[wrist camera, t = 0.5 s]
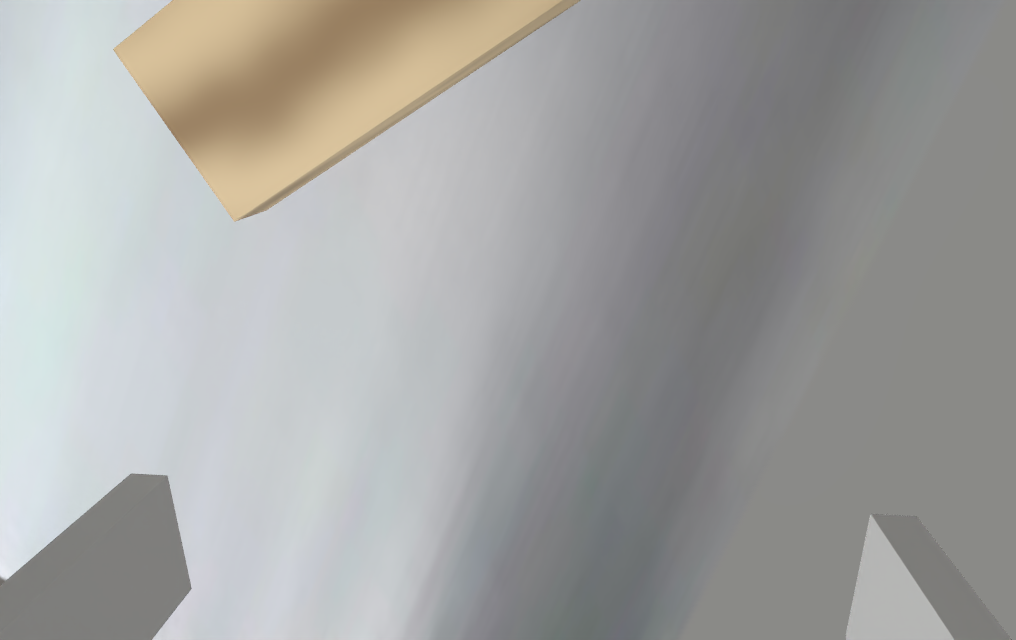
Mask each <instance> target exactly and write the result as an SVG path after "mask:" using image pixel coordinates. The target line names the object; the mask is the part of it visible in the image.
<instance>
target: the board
mask: <svg viewBox="0 0 1016 640" xmlns="http://www.w3.org/2000/svg"><path fill="white" fill-rule="evenodd" d="M579 1H580V0H173V1H171V2H170V3H169V4H168V5H166V6H165V7H164V8H163V9H162V10H160V11H159V12H158V13H157V14H155V15H154V16H153V17H152V18H151V19H149V20H148V21H147V22H146V23H145V24H143V25H142V26H141V27H140V28H138V29H137V30H136V31H135V32H134V33H132V34H131V35H130V36H129V37H127V38H126V39H125V40H124V41H123V42H121V43H120V44H119V45H118V46H116V47H115V48H114V49H113V50H114V51H115V53H116V54H117V56H118V57H119V59H120V60H121V61H122V63H123V64H124V66H125V67H126V69H127V70H128V71H129V73H130V74H131V76H132V77H133V78H134V80H135V81H136V83H137V84H138V86H139V87H140V88H141V90H142V91H143V93H144V94H145V95H146V97H147V98H148V100H149V101H150V103H151V104H152V105H153V107H154V108H155V110H156V111H157V113H158V114H159V115H160V117H161V118H162V120H163V121H164V122H165V124H166V125H167V127H168V128H169V130H170V131H171V132H172V134H173V135H174V137H175V138H176V139H177V141H178V142H179V144H180V145H181V147H182V148H183V149H184V151H185V152H186V154H187V155H188V156H189V158H190V159H191V161H192V162H193V164H194V165H195V166H196V168H197V169H198V171H199V172H200V174H201V175H202V176H203V178H204V179H205V181H206V182H207V183H208V185H209V186H210V188H211V189H212V191H213V192H214V193H215V195H216V196H217V198H218V199H219V200H220V202H221V203H222V205H223V206H224V208H225V209H226V210H227V212H228V213H229V215H230V216H231V218H232V219H233V220H234V222H235V221H238V220H240V219H243V218H246V217H249V216H252V215H254V214H257V213H260V212H263V211H266V210H268V209H269V208H271V207H272V206H274V205H275V204H277V203H278V202H280V201H281V200H283V199H284V198H286V197H287V196H289V195H290V194H292V193H293V192H295V191H296V190H298V189H299V188H301V187H302V186H304V185H305V184H307V183H308V182H310V181H311V180H313V179H314V178H316V177H317V176H319V175H320V174H322V173H323V172H325V171H326V170H328V169H329V168H331V167H332V166H334V165H335V164H337V163H338V162H340V161H341V160H343V159H344V158H346V157H347V156H349V155H350V154H351V153H353V152H354V151H356V150H357V149H359V148H360V147H362V146H363V145H365V144H366V143H368V142H369V141H371V140H372V139H374V138H375V137H377V136H378V135H380V134H381V133H383V132H384V131H386V130H387V129H389V128H390V127H392V126H393V125H395V124H396V123H398V122H399V121H401V120H402V119H404V118H405V117H407V116H408V115H410V114H411V113H413V112H414V111H416V110H417V109H419V108H420V107H422V106H423V105H425V104H426V103H428V102H429V101H431V100H432V99H434V98H435V97H437V96H438V95H440V94H441V93H443V92H444V91H446V90H447V89H449V88H450V87H452V86H453V85H455V84H456V83H458V82H459V81H461V80H462V79H464V78H465V77H467V76H468V75H470V74H471V73H473V72H474V71H476V70H477V69H479V68H480V67H482V66H483V65H485V64H486V63H488V62H489V61H491V60H492V59H494V58H495V57H497V56H498V55H500V54H501V53H503V52H504V51H506V50H507V49H509V48H510V47H512V46H513V45H515V44H516V43H518V42H519V41H521V40H522V39H524V38H525V37H527V36H528V35H530V34H531V33H533V32H534V31H536V30H537V29H539V28H540V27H542V26H543V25H545V24H546V23H548V22H549V21H551V20H552V19H554V18H555V17H557V16H558V15H560V14H561V13H563V12H564V11H565V10H567V9H568V8H570V7H571V6H573V5H574V4H576V3H577V2H579Z"/></svg>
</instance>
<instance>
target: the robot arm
mask: <svg viewBox="0 0 1016 640" xmlns="http://www.w3.org/2000/svg"><path fill="white" fill-rule="evenodd" d="M191 589H192V588H191V584H190V579H189V574H188V570H187V565H186V560H185V556H184V551H183V546H182V542H181V537H180V532H179V528H178V523H177V518H176V514H175V509H174V504H173V499H172V495H171V490H170V485H169V481H168V476H165V475H147V474H130V475H129V476H128V477H127V478H125V479H124V480H123V481H122V482H121V483H120V484H118V485H117V486H116V487H115V488H114V489H113V490H111V491H110V492H109V493H108V494H107V495H105V496H104V497H103V498H102V499H101V500H100V501H98V502H97V503H96V504H95V505H94V506H93V507H91V508H90V509H89V510H88V511H87V512H86V513H84V514H83V515H82V516H81V517H80V518H79V519H77V520H76V521H75V522H74V523H73V524H72V525H70V526H69V527H68V528H67V529H66V530H65V531H63V532H62V533H61V534H60V535H59V536H58V537H56V538H55V539H54V540H53V541H52V542H51V543H49V544H48V545H47V546H46V547H45V548H44V549H42V550H41V551H40V552H39V553H38V554H37V555H35V556H34V557H33V558H32V559H31V560H30V561H28V562H27V563H26V564H25V565H24V566H23V567H21V568H20V569H19V570H18V571H17V572H16V573H14V574H13V575H12V576H11V577H10V578H9V579H7V580H6V581H5V582H4V583H3V584H2V585H0V640H152V639H153V637H154V636H155V635H156V634H157V632H158V631H159V630H160V628H161V627H162V626H163V625H164V623H165V622H166V621H167V619H168V618H169V617H170V616H171V614H172V613H173V612H174V611H175V609H176V608H177V607H178V605H179V604H180V603H181V602H182V600H183V599H184V598H185V596H186V595H187V594H188V593H189V591H190V590H191ZM846 639H847V640H1012V639H1011V638H1010V637H1009V635H1008V634H1007V633H1006V631H1005V630H1004V629H1003V628H1002V626H1001V625H1000V624H999V623H998V621H997V620H996V619H995V617H994V616H993V615H992V613H991V612H990V611H989V609H988V608H987V607H986V605H985V604H984V603H983V602H982V600H981V599H980V598H979V596H978V595H977V594H976V592H975V591H974V590H973V589H972V587H971V586H970V585H969V583H968V582H967V581H966V580H965V578H964V577H963V576H962V574H961V573H960V572H959V570H958V569H957V568H956V566H955V565H954V564H953V563H952V561H951V560H950V559H949V557H948V556H947V555H946V554H945V552H944V551H943V550H942V548H941V547H940V546H939V544H938V543H937V542H936V540H935V539H934V538H933V537H932V535H931V534H930V533H929V531H928V530H927V529H926V528H925V526H924V525H923V524H922V522H921V521H920V520H919V518H918V517H916V516H901V515H883V514H870V519H869V524H868V529H867V534H866V539H865V544H864V549H863V554H862V559H861V563H860V568H859V573H858V578H857V583H856V588H855V593H854V598H853V603H852V607H851V612H850V618H849V622H848V627H847V632H846Z"/></svg>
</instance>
